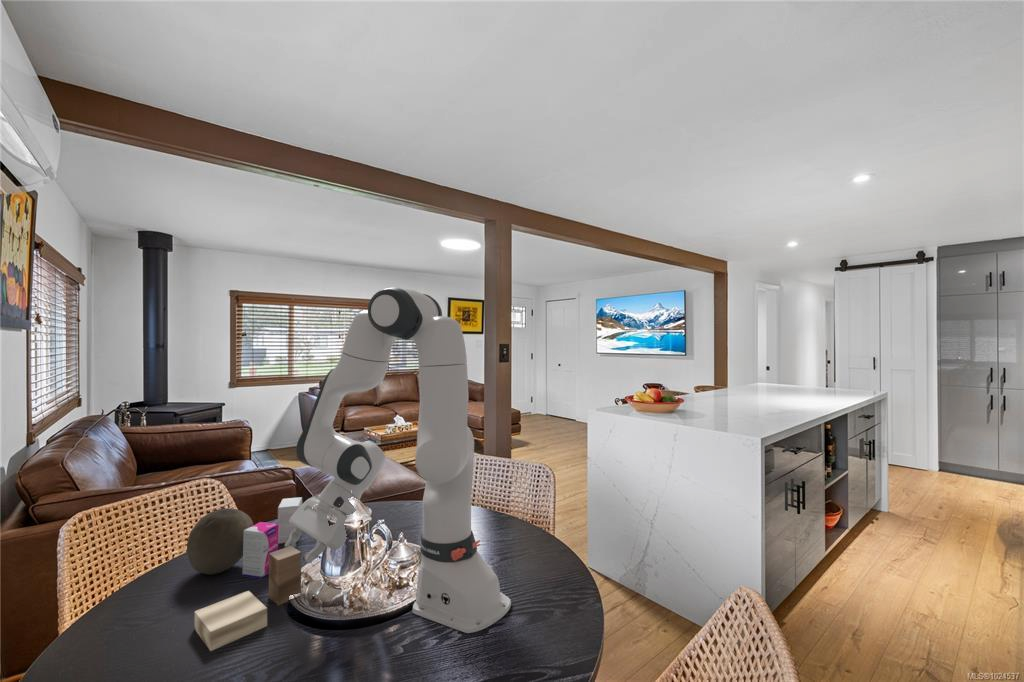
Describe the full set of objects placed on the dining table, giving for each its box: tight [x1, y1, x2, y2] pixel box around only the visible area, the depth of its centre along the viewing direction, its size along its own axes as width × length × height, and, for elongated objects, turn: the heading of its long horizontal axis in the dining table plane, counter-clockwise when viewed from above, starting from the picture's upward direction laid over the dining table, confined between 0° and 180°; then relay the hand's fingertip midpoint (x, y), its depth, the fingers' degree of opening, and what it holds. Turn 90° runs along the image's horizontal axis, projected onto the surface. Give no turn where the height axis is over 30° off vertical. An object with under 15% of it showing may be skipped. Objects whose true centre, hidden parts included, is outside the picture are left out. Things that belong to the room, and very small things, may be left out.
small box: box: [277, 496, 303, 545], centre depth 134 cm, size 8×6×10 cm
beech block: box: [194, 590, 268, 652], centre depth 92 cm, size 10×10×4 cm
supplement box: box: [241, 521, 279, 579], centre depth 114 cm, size 6×6×12 cm
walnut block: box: [268, 546, 302, 606], centre depth 103 cm, size 5×5×10 cm
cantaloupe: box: [186, 507, 254, 575], centre depth 115 cm, size 14×14×15 cm
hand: (296, 555), depth 105 cm, fingers open, 8 cm apart
